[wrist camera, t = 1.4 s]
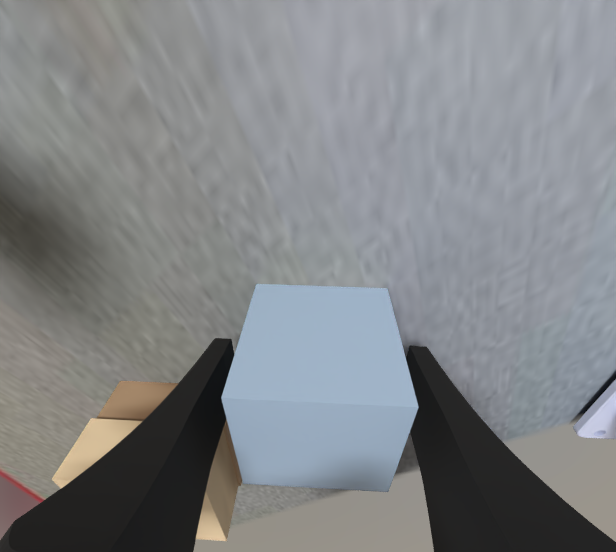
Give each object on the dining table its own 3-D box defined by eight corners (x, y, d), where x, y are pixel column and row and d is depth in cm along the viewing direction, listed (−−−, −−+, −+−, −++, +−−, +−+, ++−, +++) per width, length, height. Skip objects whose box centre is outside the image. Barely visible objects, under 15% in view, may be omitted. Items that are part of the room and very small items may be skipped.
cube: (387, 287, 12) (418, 407, 8) (371, 371, 15) (388, 492, 11) (256, 282, 12) (220, 397, 8) (265, 367, 15) (242, 483, 11)
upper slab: (222, 425, 14) (204, 488, 12) (238, 484, 17) (226, 541, 15) (91, 418, 14) (51, 479, 12) (132, 477, 18) (107, 533, 16)
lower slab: (237, 380, 16) (224, 427, 14) (250, 440, 20) (240, 485, 18) (123, 375, 16) (94, 420, 14) (155, 435, 20) (136, 479, 18)
